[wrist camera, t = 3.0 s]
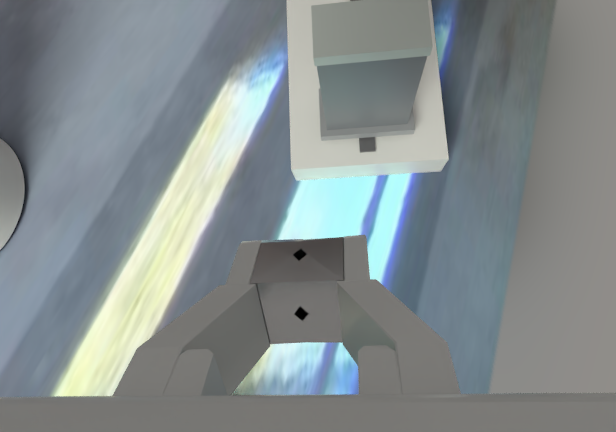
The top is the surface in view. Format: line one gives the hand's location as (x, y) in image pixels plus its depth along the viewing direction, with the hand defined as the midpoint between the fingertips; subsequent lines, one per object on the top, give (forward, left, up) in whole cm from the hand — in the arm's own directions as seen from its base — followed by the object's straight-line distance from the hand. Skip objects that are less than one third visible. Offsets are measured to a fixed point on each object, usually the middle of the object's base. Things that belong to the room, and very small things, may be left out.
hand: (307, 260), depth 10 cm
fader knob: (+3, +13, -20) cm, 24 cm away
